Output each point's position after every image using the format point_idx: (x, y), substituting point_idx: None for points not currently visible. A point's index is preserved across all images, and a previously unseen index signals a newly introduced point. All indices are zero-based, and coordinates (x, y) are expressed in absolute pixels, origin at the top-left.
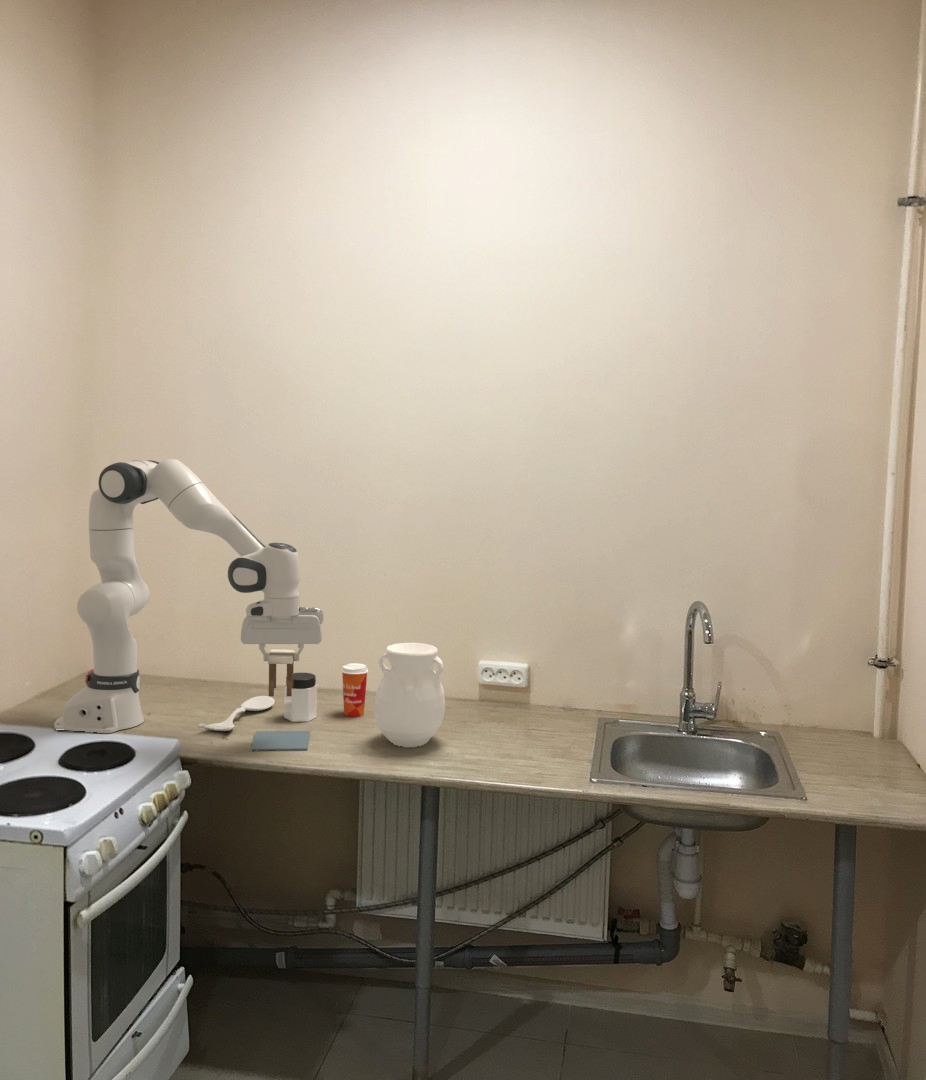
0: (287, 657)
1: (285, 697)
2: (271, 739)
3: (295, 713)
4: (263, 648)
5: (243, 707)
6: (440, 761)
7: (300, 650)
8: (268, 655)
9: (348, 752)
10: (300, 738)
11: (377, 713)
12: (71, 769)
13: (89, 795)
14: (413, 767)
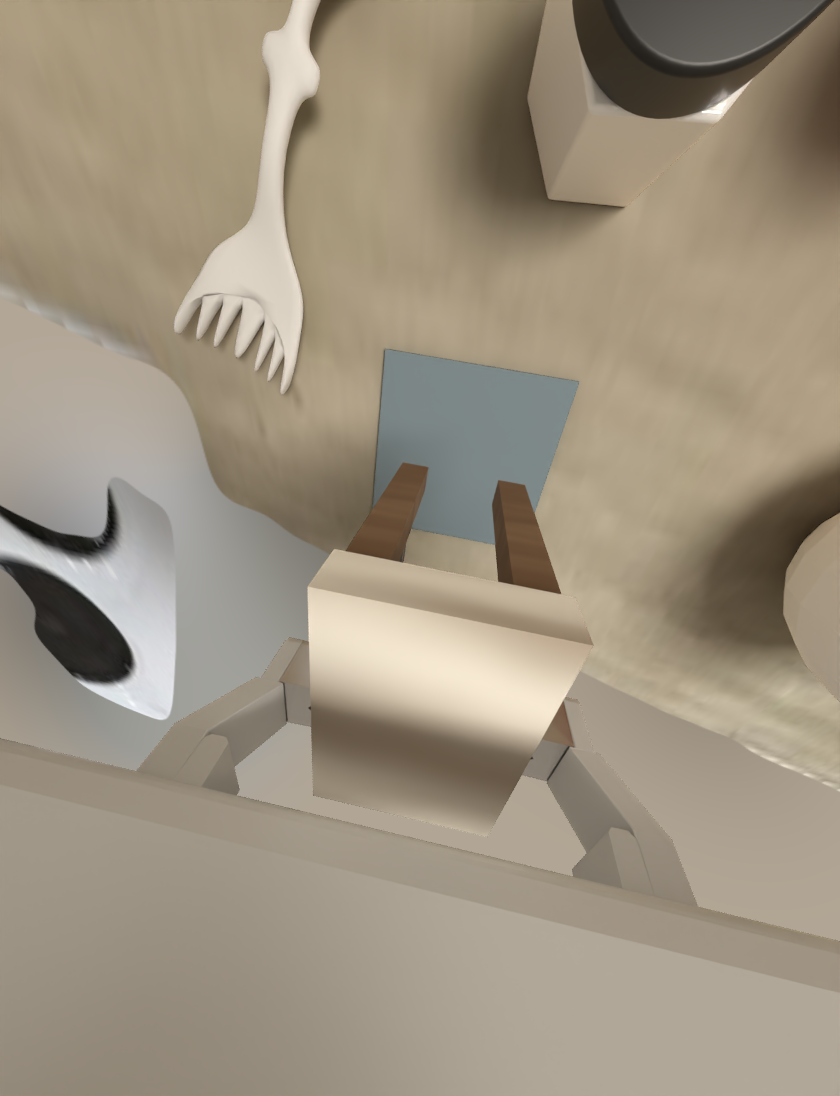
0: (450, 827)
1: (548, 31)
2: (431, 453)
3: (572, 187)
4: (229, 739)
5: (302, 18)
6: (817, 688)
7: (591, 837)
8: (309, 719)
9: (624, 585)
10: (523, 464)
11: (815, 631)
12: (30, 536)
13: (135, 648)
14: (724, 697)
